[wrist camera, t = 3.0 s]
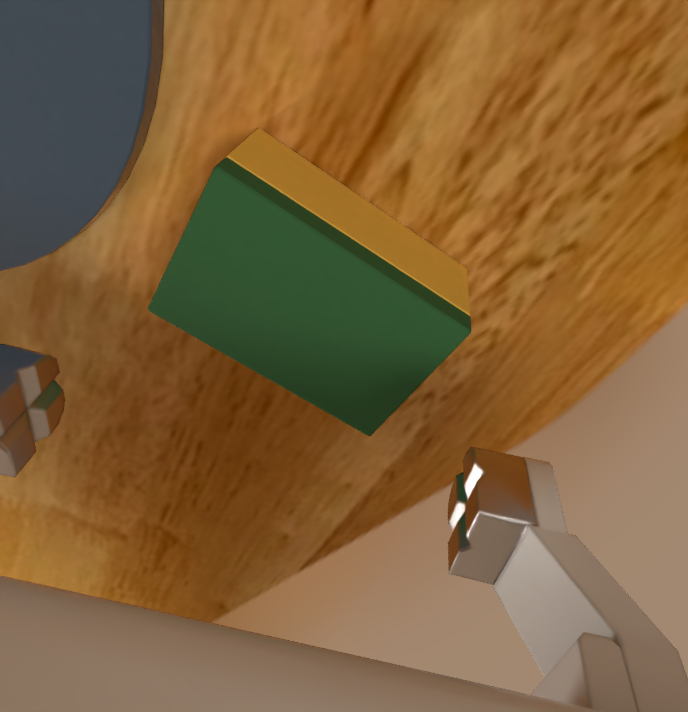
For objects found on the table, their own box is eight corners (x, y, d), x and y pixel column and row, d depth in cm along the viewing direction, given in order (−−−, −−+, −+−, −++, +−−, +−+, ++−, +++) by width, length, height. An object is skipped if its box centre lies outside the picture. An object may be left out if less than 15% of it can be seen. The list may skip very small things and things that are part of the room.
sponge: (467, 267, 16) (472, 332, 13) (380, 366, 19) (369, 438, 16) (258, 126, 15) (214, 165, 12) (194, 253, 17) (146, 310, 14)
